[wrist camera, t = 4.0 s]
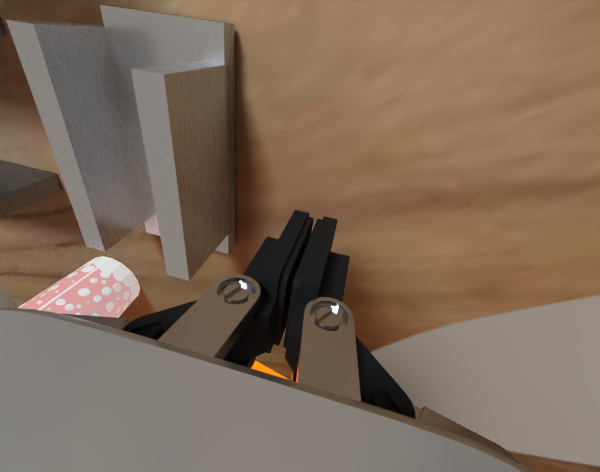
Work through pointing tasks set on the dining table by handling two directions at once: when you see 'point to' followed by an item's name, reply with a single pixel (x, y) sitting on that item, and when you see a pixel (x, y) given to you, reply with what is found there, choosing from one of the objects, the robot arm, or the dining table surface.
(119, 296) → the beverage cup
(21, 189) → the fixed leaf
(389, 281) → the dining table surface
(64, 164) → the gray u-channel trough
